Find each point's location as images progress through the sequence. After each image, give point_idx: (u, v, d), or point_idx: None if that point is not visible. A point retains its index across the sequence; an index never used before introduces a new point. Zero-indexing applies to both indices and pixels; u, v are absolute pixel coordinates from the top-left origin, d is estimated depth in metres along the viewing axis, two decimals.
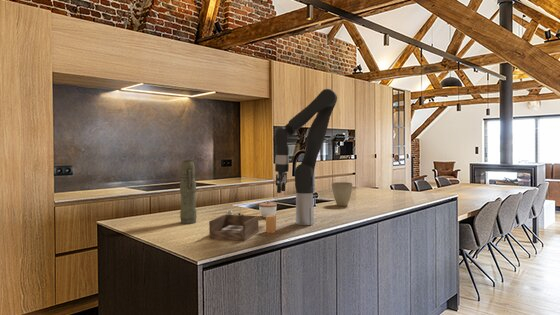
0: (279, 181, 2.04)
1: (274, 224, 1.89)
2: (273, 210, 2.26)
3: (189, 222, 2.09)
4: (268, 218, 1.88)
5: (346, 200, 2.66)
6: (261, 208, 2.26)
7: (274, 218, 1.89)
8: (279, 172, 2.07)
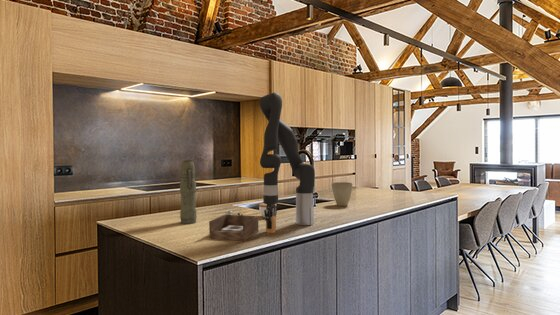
0: (269, 217, 1.84)
1: (274, 224, 1.89)
2: None
3: (189, 222, 2.09)
4: None
5: (346, 200, 2.66)
6: (261, 208, 2.26)
7: (274, 218, 1.89)
8: (268, 204, 1.86)
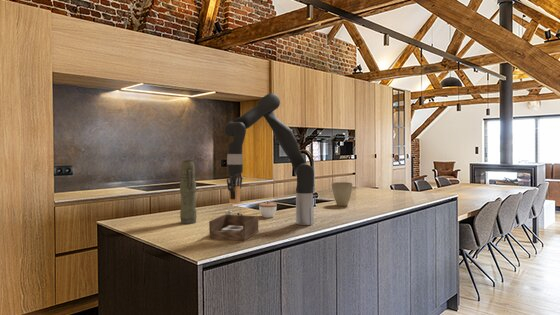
0: (231, 186, 1.78)
1: (238, 194, 1.82)
2: (273, 210, 2.26)
3: (189, 222, 2.09)
4: None
5: (346, 200, 2.66)
6: (261, 208, 2.26)
7: (238, 188, 1.82)
8: (231, 174, 1.79)
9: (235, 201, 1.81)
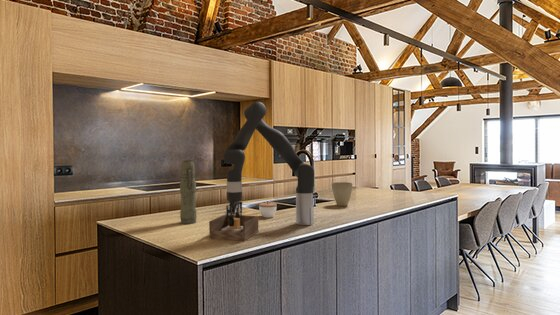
0: (230, 213, 1.77)
1: (238, 227, 1.83)
2: (273, 210, 2.26)
3: (189, 222, 2.09)
4: None
5: (346, 200, 2.66)
6: (261, 208, 2.26)
7: (237, 221, 1.82)
8: (230, 201, 1.80)
9: None
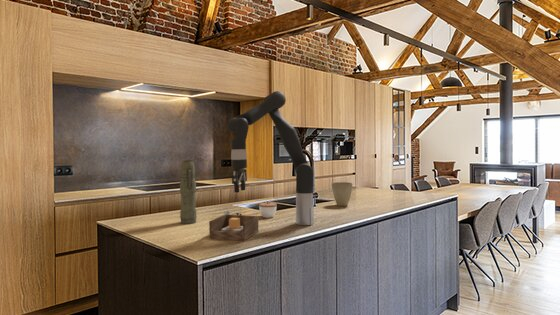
0: (236, 179, 1.79)
1: (238, 227, 1.83)
2: (273, 210, 2.26)
3: (189, 222, 2.09)
4: (231, 221, 1.82)
5: (346, 200, 2.66)
6: (261, 208, 2.26)
7: (237, 221, 1.82)
8: (236, 169, 1.83)
9: None
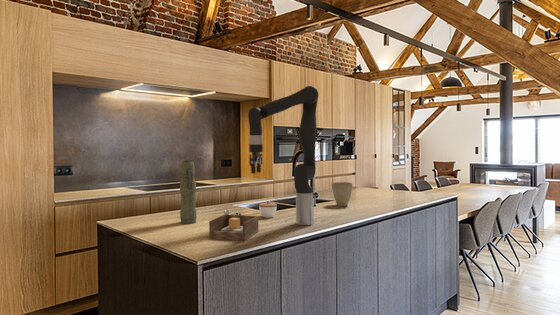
0: (253, 161, 2.02)
1: (238, 227, 1.83)
2: (273, 210, 2.26)
3: (189, 222, 2.09)
4: (231, 221, 1.82)
5: (346, 200, 2.66)
6: (261, 208, 2.26)
7: (237, 221, 1.82)
8: (253, 152, 2.05)
9: None
